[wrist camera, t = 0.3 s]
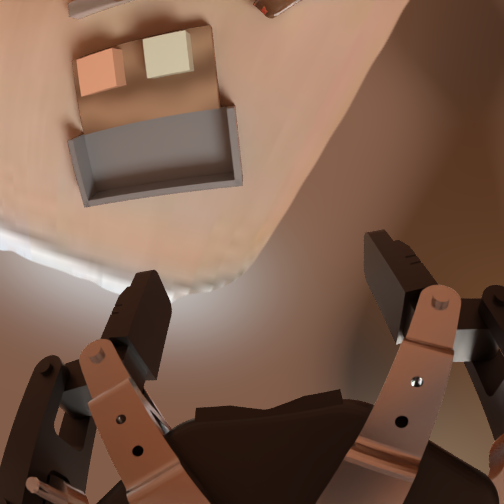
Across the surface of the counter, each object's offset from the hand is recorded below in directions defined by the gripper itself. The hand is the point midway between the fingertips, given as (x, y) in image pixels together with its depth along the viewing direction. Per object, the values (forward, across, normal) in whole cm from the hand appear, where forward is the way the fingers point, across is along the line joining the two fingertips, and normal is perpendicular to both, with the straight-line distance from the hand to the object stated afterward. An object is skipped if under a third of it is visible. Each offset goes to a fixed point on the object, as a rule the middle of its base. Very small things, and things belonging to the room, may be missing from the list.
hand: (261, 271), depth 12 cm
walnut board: (+28, +11, -10) cm, 31 cm away
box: (+28, +12, 0) cm, 30 cm away
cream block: (+26, +6, -11) cm, 29 cm away
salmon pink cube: (+26, +14, -12) cm, 32 cm away
